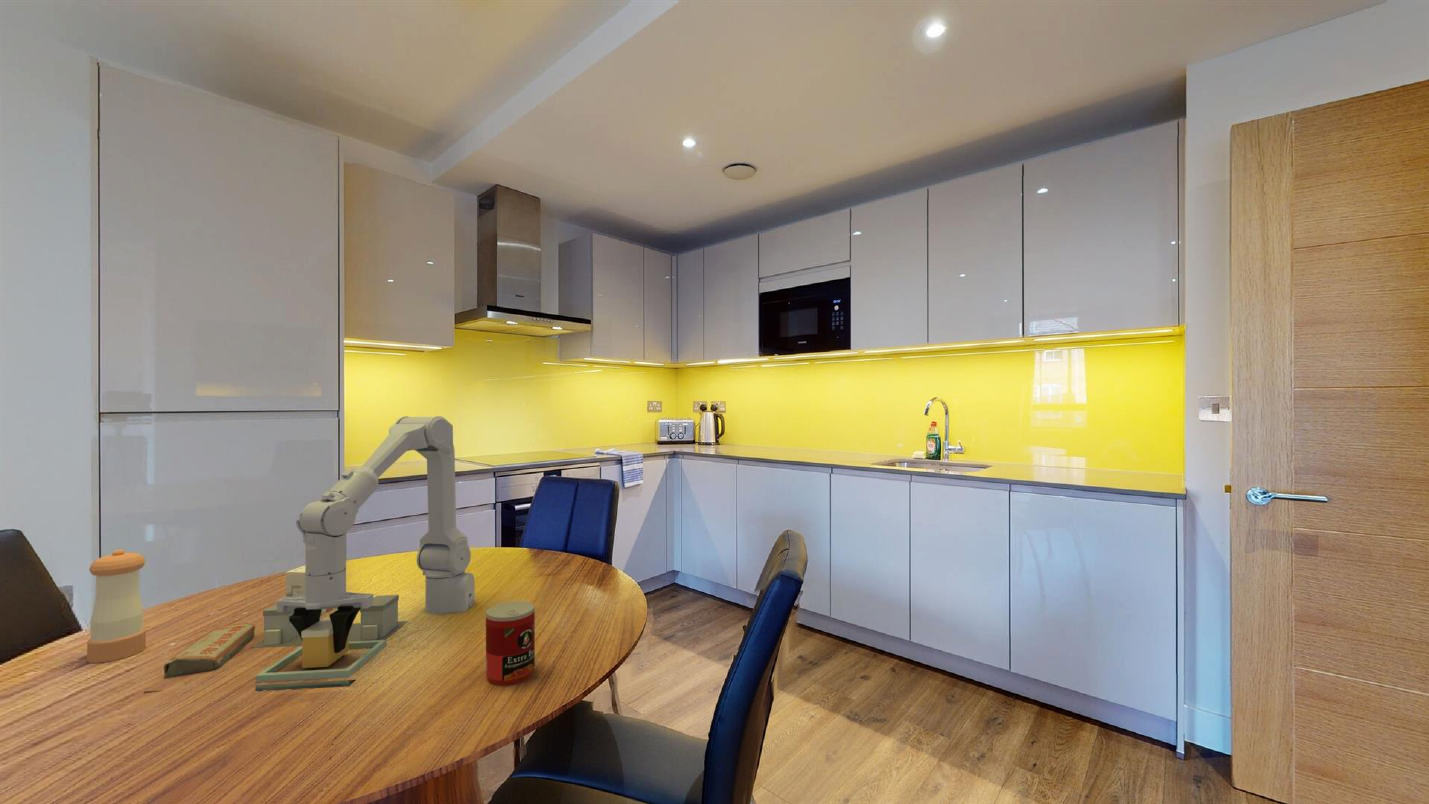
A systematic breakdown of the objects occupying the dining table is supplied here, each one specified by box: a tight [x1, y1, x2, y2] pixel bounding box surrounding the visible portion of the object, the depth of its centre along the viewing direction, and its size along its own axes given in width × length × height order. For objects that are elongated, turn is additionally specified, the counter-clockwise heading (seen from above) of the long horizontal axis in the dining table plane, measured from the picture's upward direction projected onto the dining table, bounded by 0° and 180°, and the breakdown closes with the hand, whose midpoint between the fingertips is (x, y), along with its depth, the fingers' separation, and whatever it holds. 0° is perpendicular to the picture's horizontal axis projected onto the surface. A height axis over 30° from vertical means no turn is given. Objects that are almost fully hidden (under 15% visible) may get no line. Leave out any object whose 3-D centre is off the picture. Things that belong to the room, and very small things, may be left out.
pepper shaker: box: [86, 549, 147, 664], centre depth 101 cm, size 7×7×19 cm
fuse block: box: [250, 620, 408, 649], centre depth 105 cm, size 23×10×4 cm, turn 96°
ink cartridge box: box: [285, 565, 333, 616], centre depth 116 cm, size 9×5×15 cm, turn 179°
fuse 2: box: [359, 594, 400, 638], centre depth 106 cm, size 4×6×6 cm
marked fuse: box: [301, 617, 350, 669], centre depth 93 cm, size 4×6×6 cm
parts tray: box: [254, 639, 387, 692], centre depth 93 cm, size 14×12×2 cm
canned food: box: [485, 600, 536, 686], centre depth 91 cm, size 8×8×11 cm
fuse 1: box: [262, 603, 299, 642], centre depth 104 cm, size 4×6×6 cm
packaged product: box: [143, 622, 256, 694], centre depth 96 cm, size 18×5×10 cm
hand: (325, 651), depth 93 cm, fingers closed on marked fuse, 4 cm apart
